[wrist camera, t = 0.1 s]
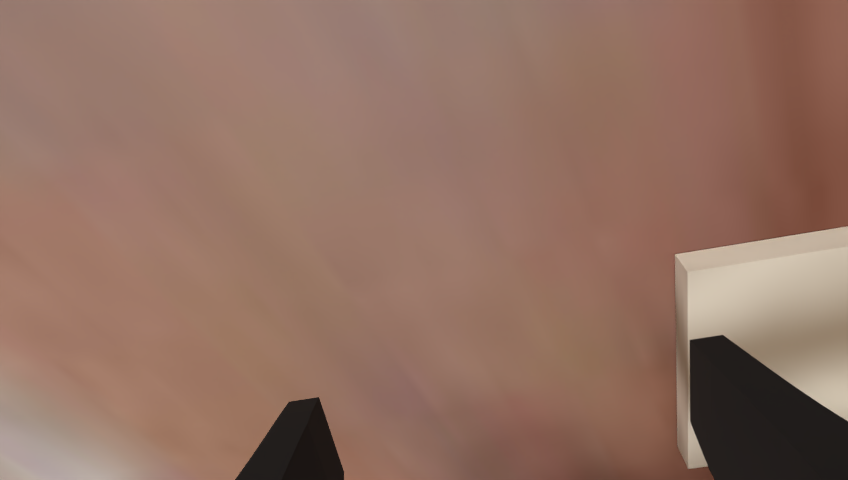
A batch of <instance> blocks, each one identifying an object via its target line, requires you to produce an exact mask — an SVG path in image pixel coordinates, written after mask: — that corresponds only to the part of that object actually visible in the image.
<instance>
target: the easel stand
mask: <svg viewBox="0 0 848 480" xmlns="http://www.w3.org/2000/svg"><path fill="white" fill-rule="evenodd" d="M675 296H676V373H677V446H678V448H679V451H680V453H681V455H682V457H683V459H684V461H685V463H686V465H687V468H688V469H692V468H699V467H706V466H708V465H707V462H706V460H705V458H704V455H703V453H702V450H701V448H700V445H699V443H698V440H697V438H696V435H695V433H694V430H693V427H692V425H691V422H690V340H692V339H699V338H705V337H712V336H718V335H724V336H725V337H727V338H728V339H729V340H731V341H732V342H733V343H735V344H736V345H738V346H739V347H740V348H742V349H743V350H744V351H746V352H747V353H749V354H750V355H751V356H753V357H754V358H755V359H757V360H758V361H760V362H761V363H762V364H764V365H765V366H766V367H768V368H769V369H771V370H772V371H773V372H775V373H776V374H778V375H779V376H780V377H782V378H783V379H785V380H786V381H787V382H789V383H790V384H792V385H793V386H795V387H796V388H798V389H799V390H801V391H802V392H803V393H805V394H806V395H808V396H809V397H811V398H812V399H814V400H815V401H817V402H818V403H820V404H821V405H823V406H825V407H826V408H828V409H829V410H831V411H832V412H834V413H835V414H837V415H839V416H840V417H842V418H844V419H845V420H847V421H848V226H847V227H841V228H835V229H829V230H823V231H817V232H810V233H804V234H798V235H792V236H786V237H779V238H773V239H767V240H761V241H755V242H749V243H742V244H736V245H730V246H724V247H718V248H712V249H705V250H699V251H693V252H687V253H681V254H675Z"/></svg>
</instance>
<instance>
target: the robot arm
mask: <svg viewBox="0 0 848 480" xmlns="http://www.w3.org/2000/svg"><path fill="white" fill-rule="evenodd" d="M690 422H691V425H692V427H693V430H694V433H695V435H696V438H697V440H698V443H699V445H700V448H701V450H702V453H703V455H704V458H705V460H706V462H707V465H708V467H709V470H710V472H711V474H712V475H713V477H714V479H715V480H848V421H847V420H845V419H844V418H842V417H840V416H839V415H837V414H835V413H834V412H832V411H831V410H829V409H828V408H826V407H825V406H823V405H821V404H820V403H818V402H817V401H815V400H814V399H812V398H811V397H809V396H808V395H806V394H805V393H803V392H802V391H801V390H799V389H798V388H796V387H795V386H793V385H792V384H790V383H789V382H787V381H786V380H785V379H783V378H782V377H780V376H779V375H778V374H776V373H775V372H773V371H772V370H771V369H769V368H768V367H766V366H765V365H764V364H762V363H761V362H760V361H758V360H757V359H755V358H754V357H753V356H751V355H750V354H749V353H747V352H746V351H744V350H743V349H742V348H740V347H739V346H738V345H736V344H735V343H733V342H732V341H731V340H729V339H728V338H727V337H725V336H724V335H718V336H712V337H705V338H699V339H692V340H690ZM235 480H344V471H343V468H342V465H341V462H340V459H339V456H338V453H337V450H336V447H335V444H334V441H333V438H332V435H331V432H330V429H329V426H328V423H327V420H326V417H325V414H324V411H323V408H322V405H321V402H320V399H319V397H318V398H311V399H305V400H298V401H292V402H289V403H288V404H287V405H286V407H285V408H284V410H283V411H282V412H281V414H280V415H279V417H278V418H277V420H276V421H275V423H274V424H273V426H272V427H271V429H270V430H269V432H268V433H267V435H266V436H265V438H264V439H263V441H262V442H261V444H260V445H259V447H258V448H257V449H256V451H255V452H254V454H253V455H252V457H251V458H250V460H249V461H248V462H247V464H246V465H245V467H244V468H243V470H242V471H241V472H240V474H239V475H238V477H237V478H236V479H235Z"/></svg>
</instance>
